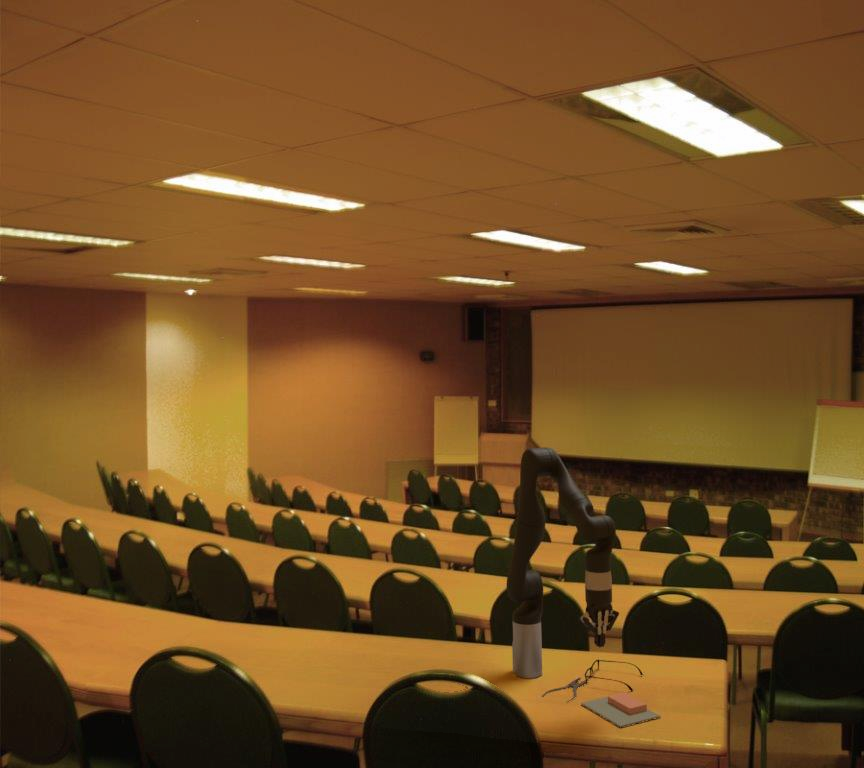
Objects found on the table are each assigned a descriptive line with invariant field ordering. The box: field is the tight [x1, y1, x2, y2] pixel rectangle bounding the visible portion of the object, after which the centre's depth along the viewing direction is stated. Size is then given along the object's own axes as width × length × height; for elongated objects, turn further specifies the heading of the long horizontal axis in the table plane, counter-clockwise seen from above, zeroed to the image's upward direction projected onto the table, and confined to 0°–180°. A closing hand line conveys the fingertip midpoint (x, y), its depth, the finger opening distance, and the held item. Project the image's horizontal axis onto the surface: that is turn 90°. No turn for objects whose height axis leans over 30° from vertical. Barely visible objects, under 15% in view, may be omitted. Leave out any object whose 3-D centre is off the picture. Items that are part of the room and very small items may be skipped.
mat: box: [580, 696, 661, 729], centre depth 232 cm, size 18×14×1 cm
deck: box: [607, 692, 648, 715], centre depth 234 cm, size 10×2×6 cm
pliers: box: [541, 677, 589, 703], centre depth 249 cm, size 10×1×20 cm
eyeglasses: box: [584, 659, 644, 692], centre depth 256 cm, size 16×16×4 cm
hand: (599, 646), depth 231 cm, fingers closed
